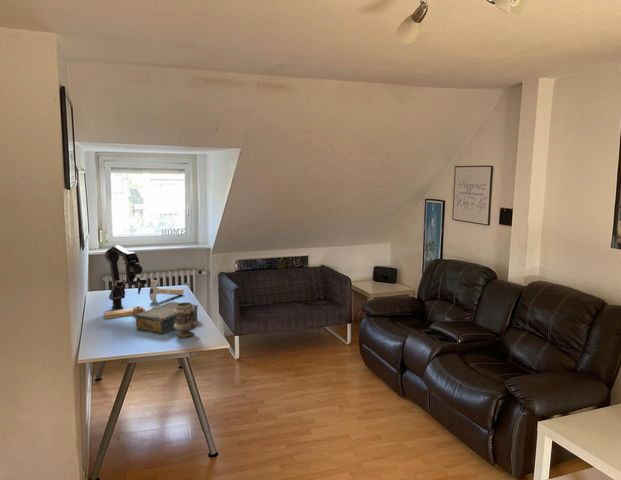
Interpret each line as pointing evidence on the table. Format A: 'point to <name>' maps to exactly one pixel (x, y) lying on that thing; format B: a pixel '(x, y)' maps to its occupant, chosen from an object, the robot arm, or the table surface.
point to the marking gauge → (137, 310)
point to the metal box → (159, 319)
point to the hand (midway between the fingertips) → (131, 295)
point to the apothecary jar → (184, 319)
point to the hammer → (162, 291)
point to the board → (119, 313)
